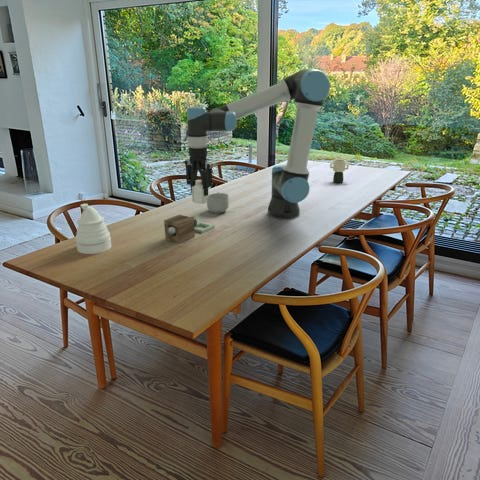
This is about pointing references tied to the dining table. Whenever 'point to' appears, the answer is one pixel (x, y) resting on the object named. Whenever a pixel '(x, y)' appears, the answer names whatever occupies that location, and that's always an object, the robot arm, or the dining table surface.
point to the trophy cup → (338, 169)
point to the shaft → (173, 230)
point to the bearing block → (180, 228)
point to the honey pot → (92, 232)
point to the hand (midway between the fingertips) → (199, 201)
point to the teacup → (217, 202)
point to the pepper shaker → (198, 192)
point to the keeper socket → (204, 228)
